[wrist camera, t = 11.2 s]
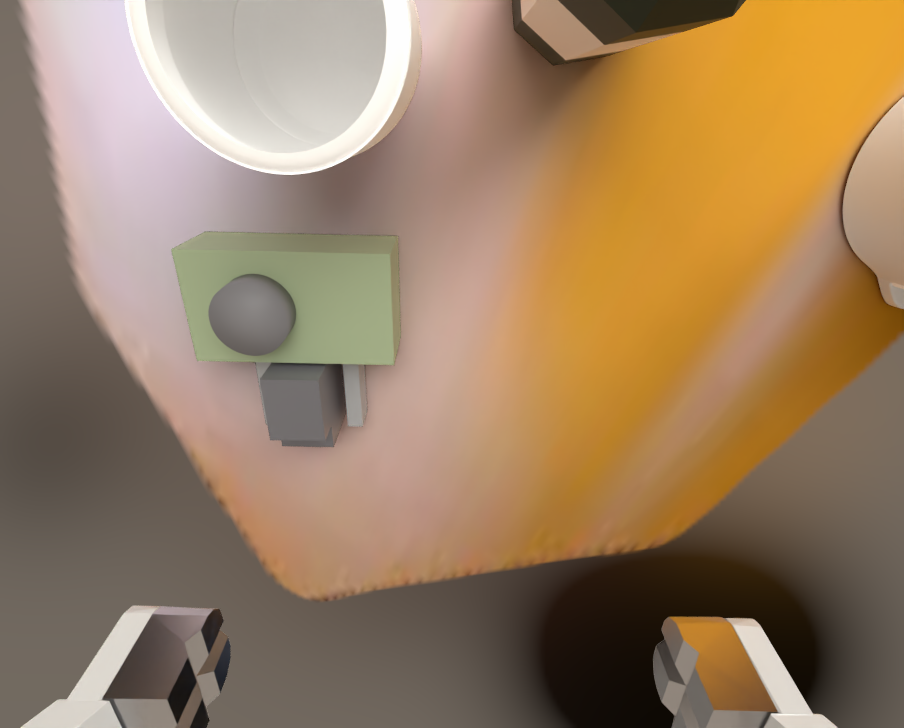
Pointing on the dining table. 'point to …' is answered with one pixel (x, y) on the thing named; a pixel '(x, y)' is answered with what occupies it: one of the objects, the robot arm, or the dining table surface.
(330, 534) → the dining table surface
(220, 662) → the robot arm
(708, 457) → the dining table surface
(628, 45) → the wine bottle
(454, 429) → the dining table surface
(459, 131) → the dining table surface
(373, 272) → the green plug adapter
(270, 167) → the jar
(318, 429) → the upright grey box
